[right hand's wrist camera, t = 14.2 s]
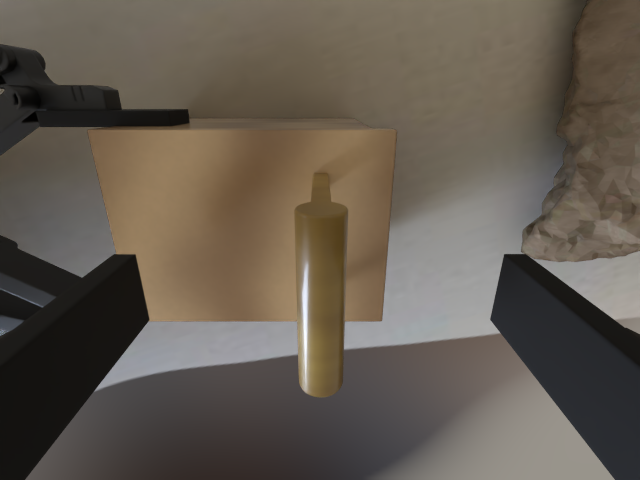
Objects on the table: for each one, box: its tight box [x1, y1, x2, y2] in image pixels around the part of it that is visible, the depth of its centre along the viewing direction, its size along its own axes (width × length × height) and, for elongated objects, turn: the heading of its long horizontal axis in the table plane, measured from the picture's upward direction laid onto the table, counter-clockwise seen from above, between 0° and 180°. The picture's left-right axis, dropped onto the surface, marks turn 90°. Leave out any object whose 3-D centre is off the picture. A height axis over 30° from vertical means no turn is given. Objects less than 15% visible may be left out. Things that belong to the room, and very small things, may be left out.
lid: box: [87, 128, 397, 397], centre depth 14 cm, size 14×10×8 cm
